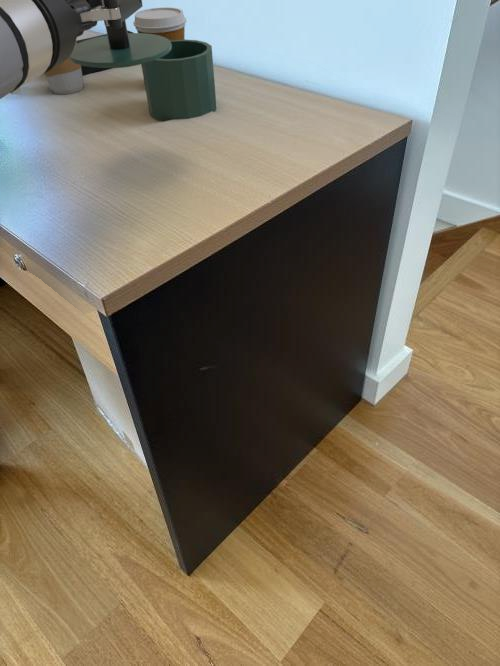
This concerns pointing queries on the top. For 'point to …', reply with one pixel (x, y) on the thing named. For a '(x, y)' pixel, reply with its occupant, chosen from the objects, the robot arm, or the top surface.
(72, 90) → the coffee cup
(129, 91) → the top surface
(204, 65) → the pot
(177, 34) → the disposable coffee cup
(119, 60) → the lid
